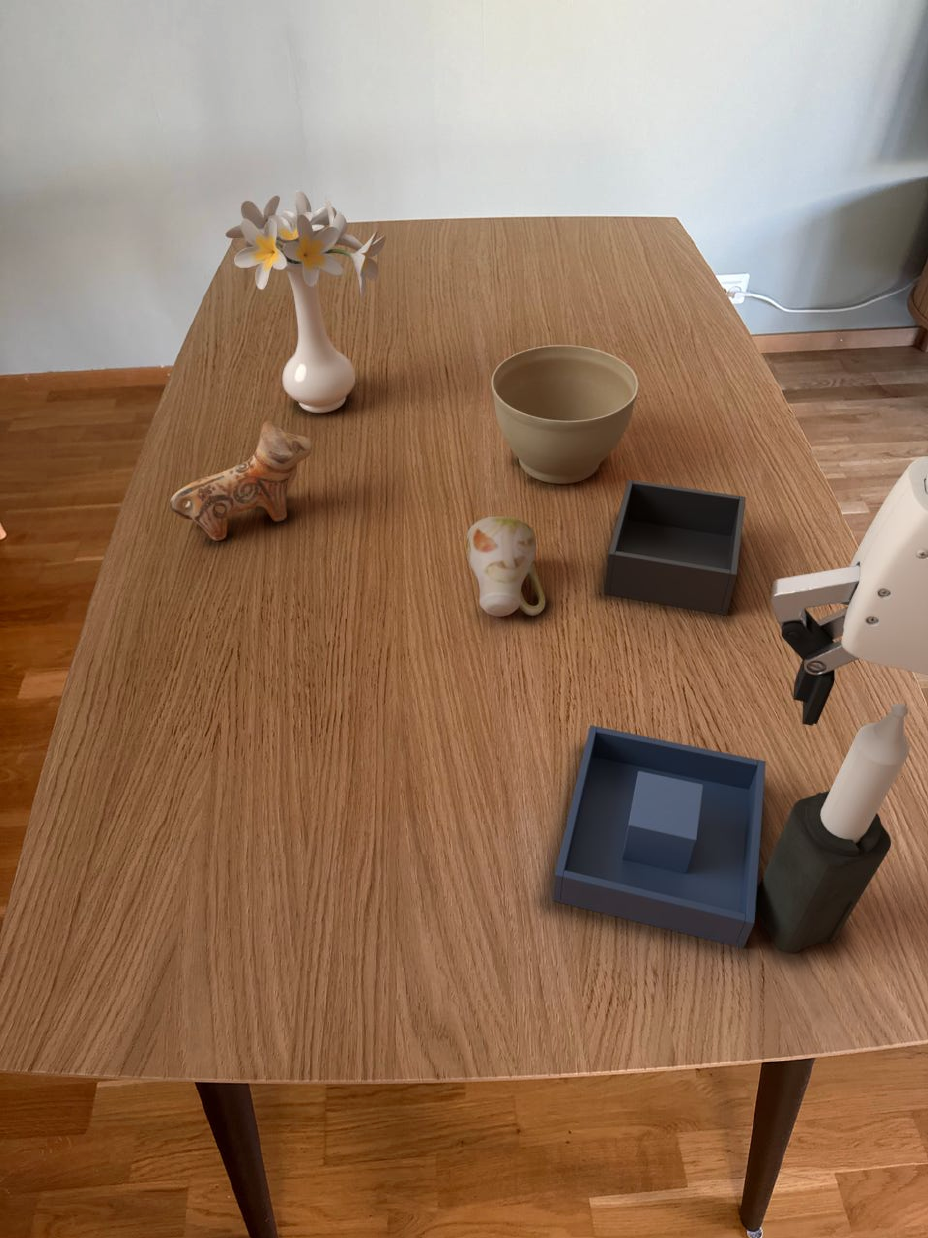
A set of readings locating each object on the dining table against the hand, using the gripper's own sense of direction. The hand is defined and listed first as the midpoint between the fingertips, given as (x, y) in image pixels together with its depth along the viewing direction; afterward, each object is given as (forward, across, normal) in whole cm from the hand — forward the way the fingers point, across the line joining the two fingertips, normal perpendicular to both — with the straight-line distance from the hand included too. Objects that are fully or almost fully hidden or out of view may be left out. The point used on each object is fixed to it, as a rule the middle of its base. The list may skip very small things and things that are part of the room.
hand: (899, 724), depth 50 cm
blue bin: (+24, +10, -4) cm, 27 cm away
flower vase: (+25, +60, -58) cm, 87 cm away
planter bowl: (+24, +28, -52) cm, 64 cm away
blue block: (+24, +11, -4) cm, 26 cm away
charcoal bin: (+24, +14, -37) cm, 46 cm away
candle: (+24, 0, -1) cm, 24 cm away
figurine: (+25, +60, -33) cm, 72 cm away
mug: (+24, +30, -29) cm, 48 cm away
